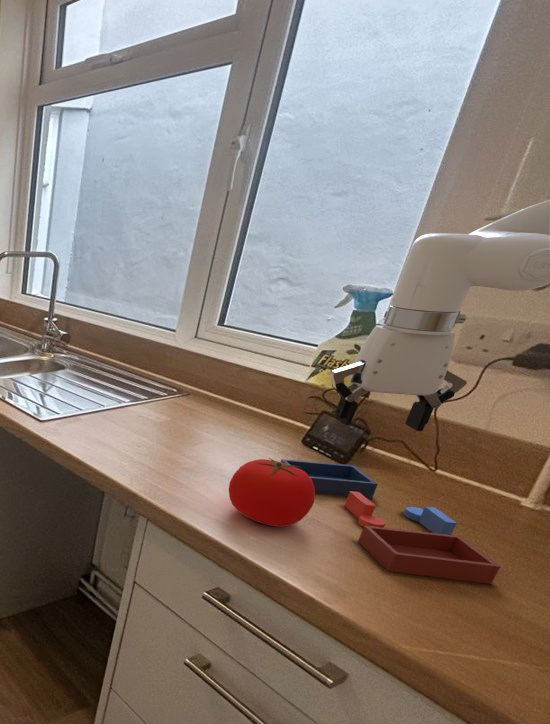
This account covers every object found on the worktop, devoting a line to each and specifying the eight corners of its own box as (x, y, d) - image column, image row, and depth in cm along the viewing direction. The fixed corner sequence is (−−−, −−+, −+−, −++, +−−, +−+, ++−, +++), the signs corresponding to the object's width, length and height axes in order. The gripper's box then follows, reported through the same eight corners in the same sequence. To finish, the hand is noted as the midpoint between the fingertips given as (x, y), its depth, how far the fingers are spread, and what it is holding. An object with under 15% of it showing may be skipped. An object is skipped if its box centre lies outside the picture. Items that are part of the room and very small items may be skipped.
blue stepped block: (456, 539, 84) (464, 523, 83) (432, 537, 84) (439, 521, 83) (420, 513, 91) (427, 498, 90) (398, 511, 92) (405, 496, 91)
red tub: (451, 552, 81) (459, 535, 80) (491, 584, 74) (500, 566, 73) (357, 541, 84) (364, 525, 82) (388, 571, 77) (395, 554, 76)
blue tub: (348, 479, 103) (353, 465, 102) (372, 498, 96) (378, 483, 95) (277, 472, 106) (281, 459, 104) (295, 490, 99) (299, 476, 98)
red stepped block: (338, 505, 94) (343, 490, 93) (359, 507, 93) (365, 492, 92) (364, 529, 87) (370, 514, 86) (387, 532, 86) (394, 516, 85)
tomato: (312, 519, 90) (332, 464, 86) (289, 546, 83) (310, 487, 79) (238, 494, 98) (253, 442, 94) (211, 516, 91) (226, 462, 87)
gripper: (471, 318, 80) (426, 421, 87) (338, 313, 85) (305, 412, 91) (511, 328, 74) (459, 439, 80) (364, 322, 78) (326, 428, 85)
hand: (377, 424), depth 86 cm, fingers open, 9 cm apart
